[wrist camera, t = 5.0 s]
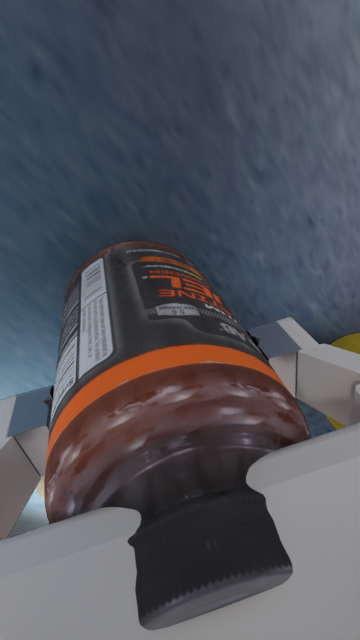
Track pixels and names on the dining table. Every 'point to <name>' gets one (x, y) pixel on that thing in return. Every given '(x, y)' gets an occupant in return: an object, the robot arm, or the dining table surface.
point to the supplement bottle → (168, 429)
